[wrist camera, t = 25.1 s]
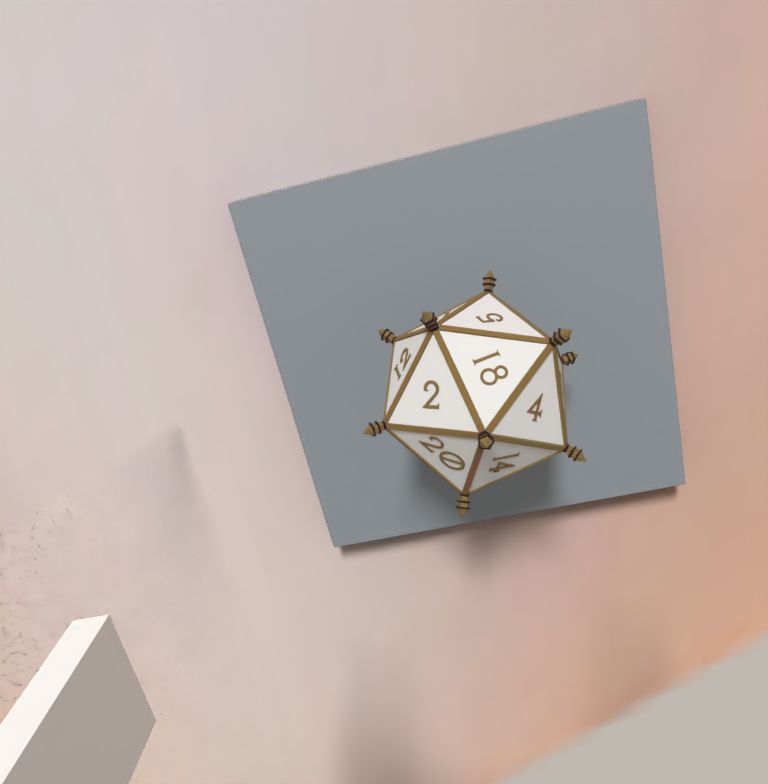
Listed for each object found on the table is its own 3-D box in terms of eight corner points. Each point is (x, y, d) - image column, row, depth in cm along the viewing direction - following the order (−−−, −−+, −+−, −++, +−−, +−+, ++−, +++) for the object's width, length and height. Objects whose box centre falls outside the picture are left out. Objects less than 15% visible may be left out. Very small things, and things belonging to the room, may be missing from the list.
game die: (593, 390, 33) (660, 499, 23) (433, 465, 35) (436, 594, 25) (510, 221, 30) (548, 268, 21) (341, 312, 32) (307, 393, 23)
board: (337, 531, 38) (334, 547, 36) (236, 200, 32) (227, 204, 30) (675, 469, 36) (685, 484, 34) (635, 99, 29) (645, 98, 28)
